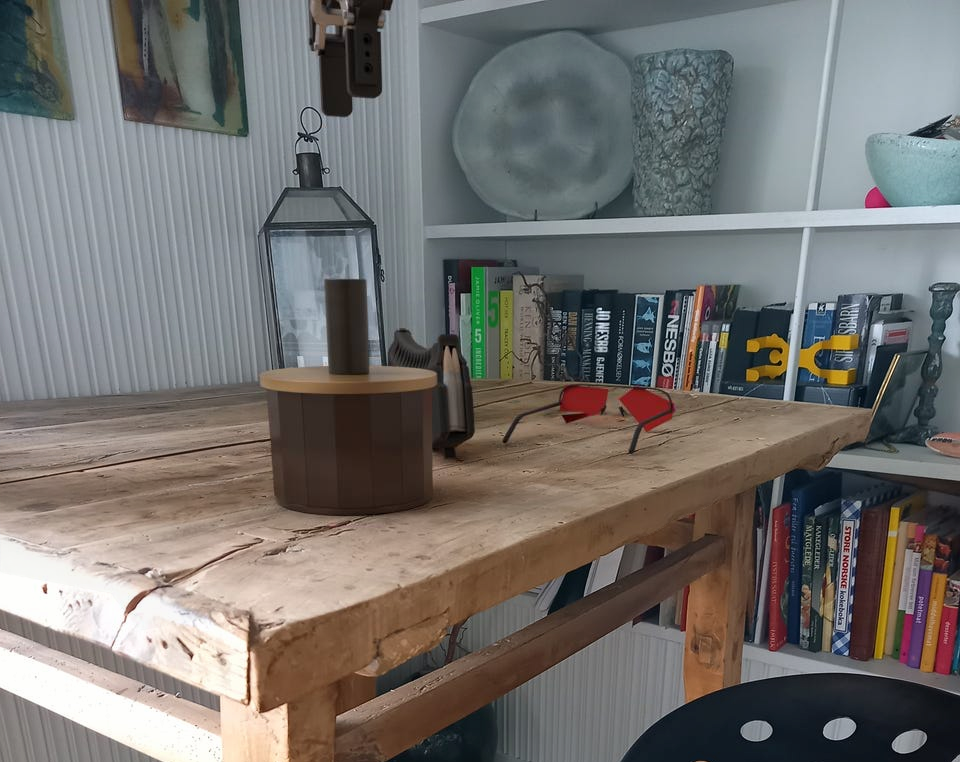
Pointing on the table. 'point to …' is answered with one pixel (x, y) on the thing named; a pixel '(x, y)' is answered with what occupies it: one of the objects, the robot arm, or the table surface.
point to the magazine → (441, 386)
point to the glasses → (593, 401)
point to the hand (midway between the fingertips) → (350, 107)
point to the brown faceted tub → (351, 451)
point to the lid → (347, 353)
